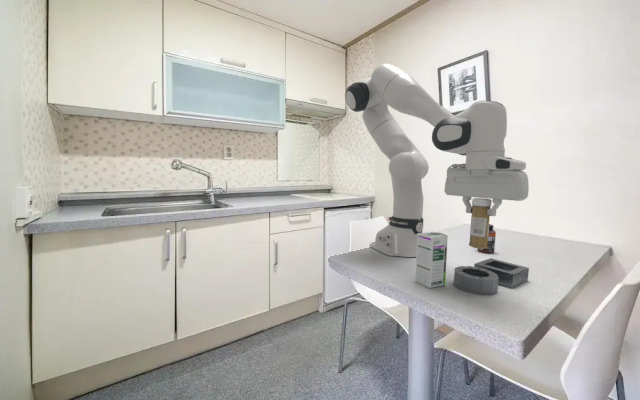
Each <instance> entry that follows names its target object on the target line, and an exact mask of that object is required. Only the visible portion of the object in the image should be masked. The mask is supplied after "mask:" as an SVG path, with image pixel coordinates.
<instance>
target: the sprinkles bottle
mask: <svg viewBox="0 0 640 400" xmlns="http://www.w3.org/2000/svg"><path fill="white" fill-rule="evenodd" d="M492 200H493V199H490V198H478V197H472V198H471V207H472V213H471V217H470V227H469V228H470V229H469V243H468V246H469V247H471V248H474V249H478V248H479V249H486V248H487V247H488V246H487V242H488V233H489V224H490V217H491V216H488V215H487V213H488V212H487V209H491V208H492V204H493V203H492Z"/></svg>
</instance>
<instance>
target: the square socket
mask: <svg viewBox="0 0 640 400" xmlns="http://www.w3.org/2000/svg"><path fill="white" fill-rule="evenodd" d="M473 267H478V268H482V269H486V270H489V271H492V272H494V273H495V274H497V275H498V278H499V279H498V285H501V286H504V287H506V288H509V289H514V288H516V287H519V286H520V285H522V284H524V283H526V282H528V280H529V272H530V268H529V267H527V266H523V265H519V264H516V263H511V262H507V261H504V260H500V259H495V258H488V259H484V260H481V261H479V262H475V263H474V266H473Z"/></svg>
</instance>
